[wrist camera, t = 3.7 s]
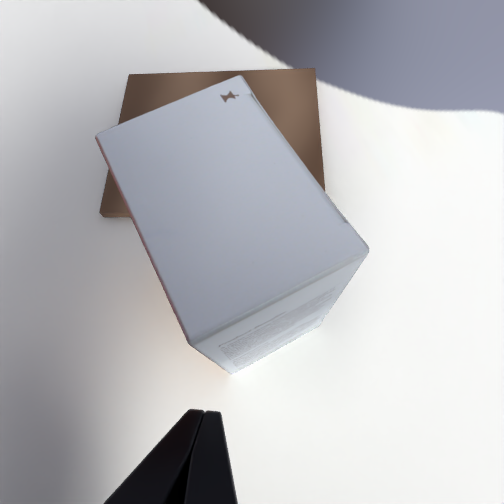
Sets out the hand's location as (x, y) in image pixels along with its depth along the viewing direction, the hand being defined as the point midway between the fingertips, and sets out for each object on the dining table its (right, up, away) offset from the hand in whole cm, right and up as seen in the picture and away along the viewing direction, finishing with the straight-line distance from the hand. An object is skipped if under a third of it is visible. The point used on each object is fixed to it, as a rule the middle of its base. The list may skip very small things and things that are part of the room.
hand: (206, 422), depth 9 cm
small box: (+1, +2, +11) cm, 11 cm away
